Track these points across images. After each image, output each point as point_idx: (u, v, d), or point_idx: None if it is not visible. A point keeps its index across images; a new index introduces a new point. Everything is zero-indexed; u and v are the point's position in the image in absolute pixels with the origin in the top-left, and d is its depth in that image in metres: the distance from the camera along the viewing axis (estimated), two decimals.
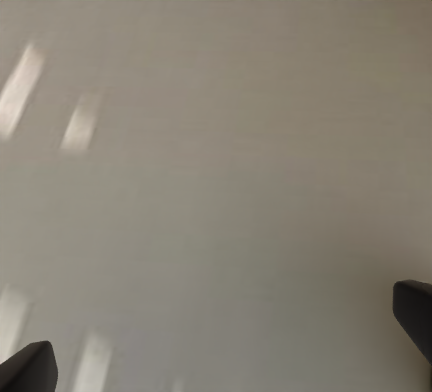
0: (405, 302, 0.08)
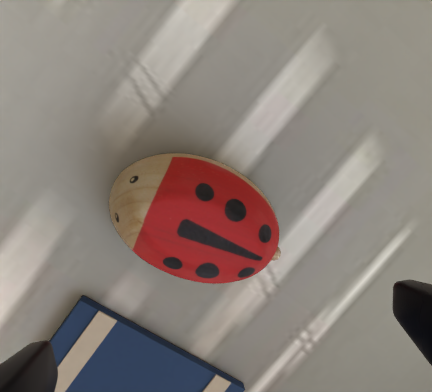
0: (405, 302, 0.08)
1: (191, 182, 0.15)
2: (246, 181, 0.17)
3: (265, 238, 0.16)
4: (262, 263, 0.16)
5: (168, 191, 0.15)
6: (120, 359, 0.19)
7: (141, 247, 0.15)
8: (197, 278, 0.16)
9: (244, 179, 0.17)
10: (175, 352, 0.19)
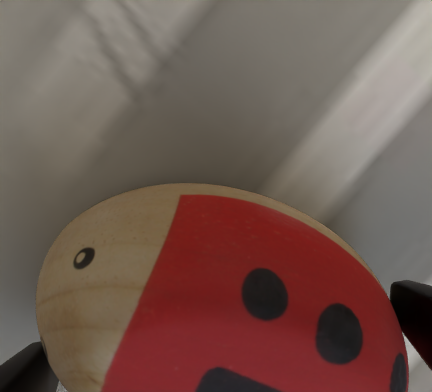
0: (402, 303, 0.08)
1: (229, 267, 0.06)
2: (341, 245, 0.08)
3: (400, 390, 0.07)
4: None
5: (171, 298, 0.05)
6: None
7: None
8: None
9: (336, 240, 0.08)
10: None
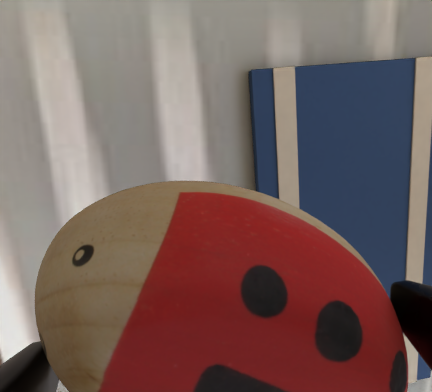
0: (402, 303, 0.08)
1: (228, 264, 0.06)
2: (341, 242, 0.08)
3: (400, 387, 0.07)
4: None
5: (170, 295, 0.05)
6: (322, 103, 0.18)
7: None
8: None
9: (336, 238, 0.08)
10: (364, 62, 0.18)
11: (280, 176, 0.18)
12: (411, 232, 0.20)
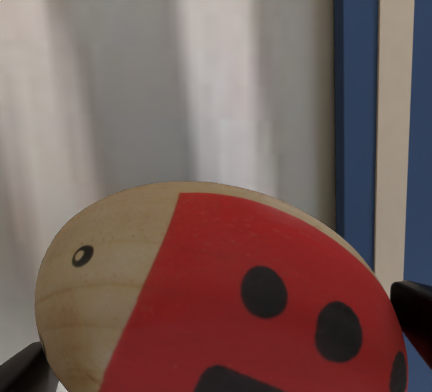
0: (402, 303, 0.08)
1: (228, 265, 0.06)
2: (341, 243, 0.08)
3: (400, 388, 0.07)
4: None
5: (170, 296, 0.05)
6: None
7: None
8: None
9: (336, 238, 0.08)
10: None
11: (381, 107, 0.11)
12: None
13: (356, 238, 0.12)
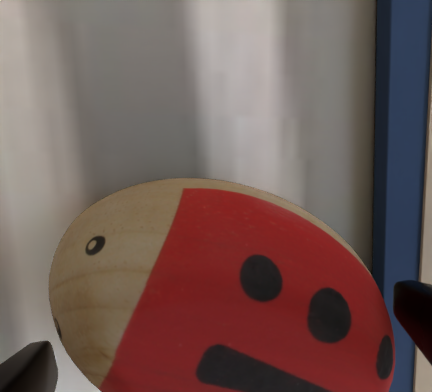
0: (405, 302, 0.08)
1: (228, 254, 0.06)
2: (333, 236, 0.08)
3: (386, 368, 0.07)
4: None
5: (175, 280, 0.06)
6: None
7: None
8: None
9: (328, 231, 0.08)
10: None
11: None
12: None
13: (398, 260, 0.10)
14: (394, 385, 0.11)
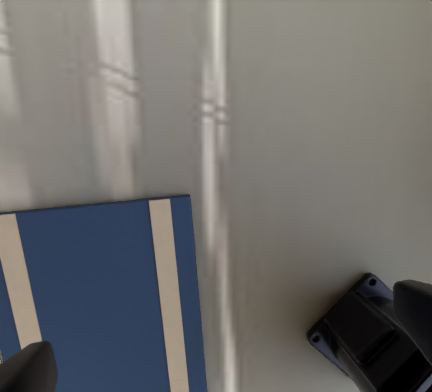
0: (405, 302, 0.08)
1: None
2: None
3: None
4: None
5: None
6: (52, 245, 0.18)
7: None
8: None
9: None
10: (92, 206, 0.18)
11: (15, 313, 0.19)
12: (171, 357, 0.21)
13: None
14: None
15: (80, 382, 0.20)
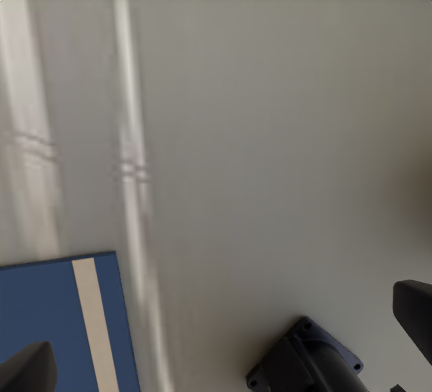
0: (405, 302, 0.08)
1: None
2: None
3: None
4: None
5: None
6: None
7: None
8: None
9: None
10: (16, 268, 0.18)
11: None
12: None
13: None
14: None
15: None
